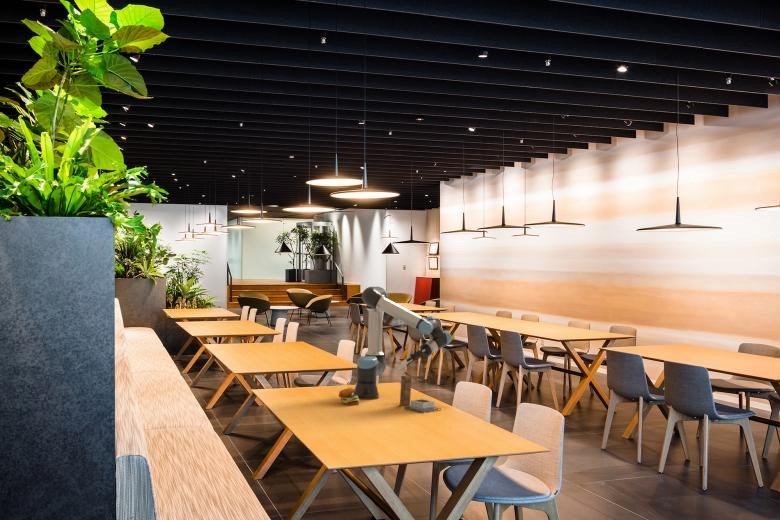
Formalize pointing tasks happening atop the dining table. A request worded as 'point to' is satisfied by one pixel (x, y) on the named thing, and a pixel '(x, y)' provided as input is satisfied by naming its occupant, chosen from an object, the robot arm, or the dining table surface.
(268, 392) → the dining table surface
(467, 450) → the dining table surface
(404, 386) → the walnut post
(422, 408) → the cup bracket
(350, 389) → the cheeseburger
